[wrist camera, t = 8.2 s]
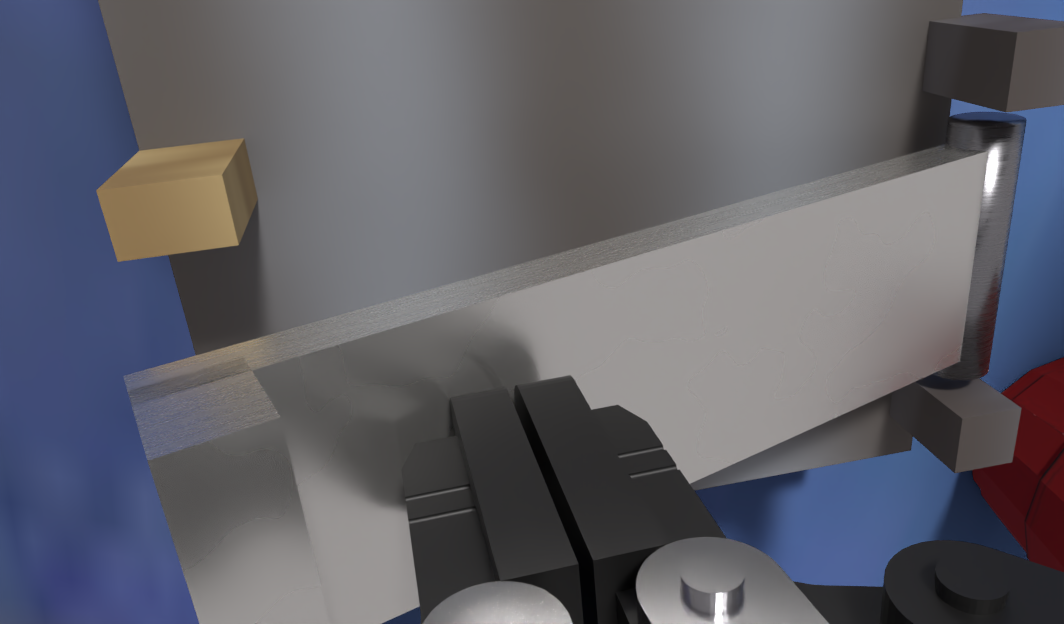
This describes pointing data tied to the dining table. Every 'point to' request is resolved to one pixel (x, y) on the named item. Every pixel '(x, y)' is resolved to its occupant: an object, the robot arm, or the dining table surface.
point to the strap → (576, 367)
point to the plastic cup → (1033, 468)
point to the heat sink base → (533, 150)
